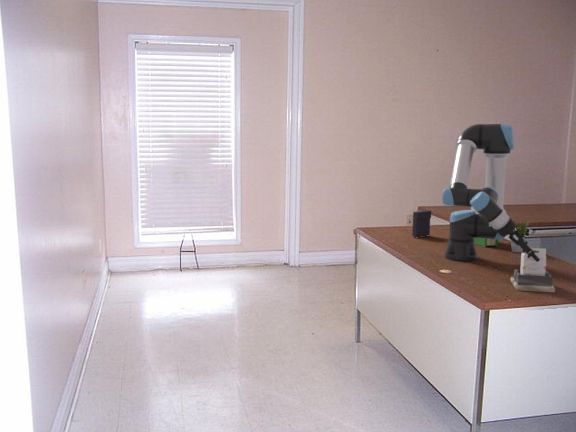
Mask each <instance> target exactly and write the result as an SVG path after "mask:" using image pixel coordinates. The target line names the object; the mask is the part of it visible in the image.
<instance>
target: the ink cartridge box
mask: <svg viewBox="0 0 576 432" xmlns="http://www.w3.org/2000/svg"><path fill="white" fill-rule="evenodd" d="M531 249H532V250H533V251H535V252H536V254H537V255H538V256H539V257H540V258H541V259H542V260H543V261H544V262H545V263H546V264H547V249H546V248H540V247H539V248H538V247H531ZM530 252H531V251H530ZM530 252H529V253H530ZM527 256H528V254H527V253H526V252H525V251H524V252H521V255H520V269H519V270H520V275H537V276H545V271H546V266H547V265H546V266H544V267H543V268H542V269H541V268H540V267H539V266H538V265H537V264H536V263H535V262H534V261H533V260H532V259H531V258H530V257H529V258H528V257H527Z"/></svg>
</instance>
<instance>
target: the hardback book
mask: <svg viewBox="0 0 576 432" xmlns="http://www.w3.org/2000/svg"><path fill="white" fill-rule="evenodd" d="M470 210H474V208H473V207H470ZM475 212H476V214H479V213H478V212H477V211H475ZM474 244H476V245H477V244H478V245H479V246H481V247H484V248H487V246H494V247H495V248H497V247H499V239H495V240H494V239H486V238H474Z"/></svg>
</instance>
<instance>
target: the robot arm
mask: <svg viewBox="0 0 576 432" xmlns="http://www.w3.org/2000/svg"><path fill="white" fill-rule="evenodd" d="M514 141H515V139H514V130H513V127H512V125H511V124H509V123H507V124H506V123H483V124H482V123H477V124H473V125H470V126H468V127H467V128H465V129H464V130H463V131H462V132H461V133H460V134H459V136H458V138H457V139H456V141H455V146H454V148H455V149H454V150H455V151H456V152H455V155H454V161H453V167H452V168H453V169H452V171H451V172H452V173H451V176H450V177H451V178H450V181H449V187H444V189H443V190H442V204H444V205H446V206H453V207H470V208H471V207H473V208H474V210H471V209H464V210H463V209H461V210H455V211H453V212H451V214H450V216H449V233H448V243H447V246H446V248H445V251H444V258H446V259H448V260H453V261H457V262H471V261H475V260H477V258H478V253H477V249H476V247H475V246H476V245H475V242H474V238H486V239H494V240H495V239H498V240H504V239H505V237H506V236H508V238H509V239H510V241H511V240H512V241H513V242H514V243H515V244H516V245H519V246H520V247H521V248H522V249H523V252H524V253H525V252H526V253H527V254H528V256H527V257H528V258H529V257H530V258H531V259H532V260H533V261H534V262H535V263H536V264H537V265H538V266H539V267H540V268H541V269H542V268H543V267H544V266H547V264H548V263H547V262H546V263H545V262H544V261H543V260H542V259H541V258H540V257H539V256H538V255H537V254H536V253H537V251H536V250H535V251H533V250H532V249H531V248H532V247H531V246H530V245H529V244H528V243H529V242H528V241H527V240H525V242H524V238H523V237H521V236H520V234H519V233H518V232H517V231H515V232H514V229H515V230H516V223H517V222H516V221H515V220H513V219H512V218H510V215H508V214H507V211H506V210H505V208H504V201H505V199H504V198H505V184H506V167H507V158H508V157H509V155H510V154H511V151H513V150H514V149H515V145H514V144H515V143H514ZM477 150H483V154H484V156H486V164H485V179H484V182H485V184H484V187H482V189H480V188H468V187H469V181H470V177H471V176H470V175H471V172H472V171H471V170H472V164H473V158H474V154H475V153H476V152H477ZM475 211H477V212H478V213H479V214H476V212H475ZM514 221H515V222H516V223H515V222H514ZM530 251H531V252H530ZM529 252H530V253H529Z"/></svg>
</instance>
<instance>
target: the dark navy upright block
mask: <svg viewBox="0 0 576 432" xmlns="http://www.w3.org/2000/svg"><path fill="white" fill-rule="evenodd" d="M431 218H432V210H427V209H426V210H419V211H413V212H412V232H411V233H412V234H411V235H412V236H414V237H420V238H422V237H421V236H426V237H428V236H427V235H429V236H430V234H431V233H430V230H431V229H430V228H431ZM414 237H413V238H414Z"/></svg>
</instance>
